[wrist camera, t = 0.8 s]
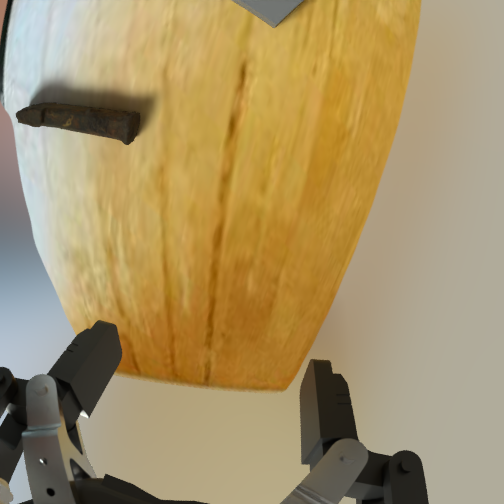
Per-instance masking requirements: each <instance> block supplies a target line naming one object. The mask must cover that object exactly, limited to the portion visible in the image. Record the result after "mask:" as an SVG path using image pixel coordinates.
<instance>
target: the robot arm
mask: <svg viewBox="0 0 504 504" xmlns="http://www.w3.org/2000/svg"><path fill="white" fill-rule="evenodd" d="M121 358H122V348H121V344H120V340H119V335H118V331H117V327H116V325H115V324H112V323H108V322H105V321H101V320H98V321H97V322H96V323H95V324H94V325H93V327H92V328H91V329H86V330H84V331H82V332H81V333H79V334H78V335H77V336H76V337H75V339H74V340H73V341H72V342H71V344H70V345H69V346H68V347H67V349H66V351H64V352H63V354H62V355H61V356H60V358H59V359H58V361H57V362H56V363H55V364H54V366H53V367H52V368H51V370H50V371H49V373H47V375H45V374H40V375H36V376H34V377H32V378H31V379H30V380H24V379H19V378H14V376H13V374H12V373H11V371H10V370H9V369H7V368H5V367H0V418H1V416H2V415H3V413H4V411H5V410H6V411H7V412H8V414H7V416H6V417H5V419H4V421H3V423H2V424H1V426H0V504H9V502H11V501H12V500H13V495H12V493H11V492H10V488H9V485H8V484H9V482H10V480H11V477H12V475H13V472H14V470H15V468H16V466H17V463H18V461H19V459H20V457H21V455H22V452H23V450H24V458H25V464H26V470H27V475H28V481H29V485H30V490H31V494H32V498H33V499H31V500H28V501H25V502H22V503H19V504H208V503H202V502H197V501H174V500H160V499H158V498H156V497H154V496H152V495H151V494H149V493H147V492H145V491H143V490H141V489H140V488H138V487H137V486H135V485H133V484H131V483H128V482H126V481H123V480H120V479H118V478H115V477H113V476H110V475H108V474H105V476H104V479H103V478H97V477H96V474H95V472H94V470H93V468H92V466H91V464H90V462H89V460H88V458H87V455H86V451H85V448H84V444H83V440H82V436H81V432H80V428H79V423H78V420H77V419H78V417H79V415H82V416H85V417H87V418H89V417H90V415H91V413H92V411H93V410H94V408H95V406H96V404H97V402H98V400H99V399H100V397H101V395H102V393H103V391H104V390H105V388H106V386H107V384H108V382H109V381H110V379H111V377H112V376H113V374H114V372H115V370H116V369H117V367H118V365H119V363H120V361H121ZM349 395H350V393H349V389H348V384H347V382H346V381H345V379H344V378H343V376H342V375H341V374H333V372H332V367H331V362H330V361H329V360H315V359H311V360H310V362H309V365H308V368H307V370H306V373H305V375H304V378H303V381H302V384H301V389H300V418H301V462H302V464H310V473H309V474H308V475H307V476H306V477H305V478H304V480H303V481H302V482H301V483H300V484H299V485H298V486H297V487H296V488H295V489H294V490H293V491H292V492H291V493H290V494H289V495H288V496H287V497H286V498H285V499H284V500H283V501H282V502H281V503H280V504H338V503H339V502H340V501H341V499H342V498H343V497H344V496H346V497H351V498H356V504H429V503H428V495H427V489H426V483H425V477H424V471H423V466H422V462H421V459H420V458H419V456H418V455H417V454H415V453H414V452H411V451H407V450H406V451H405V450H403V451H399V452H397V453H396V454H394V455H393V456H388V455H383V454H378V453H374V452H371V451H369V450H367V449H366V447H365V446H364V445H363V444H362V443H361V442H359V440H358V436H357V431H356V425H355V419H354V415H353V409H352V405H351V399H350V396H349Z"/></svg>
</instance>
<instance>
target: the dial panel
mask: <svg viewBox="0 0 504 504" xmlns="http://www.w3.org/2000/svg"><path fill="white" fill-rule="evenodd" d="M232 1H234V2H235V3H237V4H239V5H240V6H242V7H243V8H245V9H247V10H248V11H250V12H251V13H253V14H254V15H256V16H257V17H259V18H260V19H262V20H263V21H264V22H266V23H267V24H269V25H270V26H272V27H273V28H275V27H276V26H277V25H278V24H279V23H280V22H281V21H282V20H283V19H284V18H285V17H286V16H287V15H289V14H290V13H291V12H292V11H293V10H294V9H295V8H296V7H297V6H298V5H300V4H301V3H302V2H303V1H304V0H232Z"/></svg>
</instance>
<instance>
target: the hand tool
mask: <svg viewBox="0 0 504 504" xmlns="http://www.w3.org/2000/svg"><path fill="white" fill-rule="evenodd" d="M16 117H17V119H18V123H23V124H27V125H30V126H33V127H40V126H46V127H55V128H60V129H66V130H70V131H76V132H81V133H87V134H92V135H96V136H102V137H108V138H113V139H117V140H120V141H122V142H123V143H124V144H125V145H129V144H130V143H131V142H133V141H134V139H135V136H136V134H137V130H138V127H139V123H140V113H138V112H137V113H136V112H132V113H128V112H126V111H123V112H118V111H112V110H110V109H103V108H99V109H96V108H92V107H82V106H73V105H63V104H57V103H41V104H36V105H35V104H34V105H31V106H29V107H25V108H23V109H22V110H20V111H18V112H17V113H16Z"/></svg>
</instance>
